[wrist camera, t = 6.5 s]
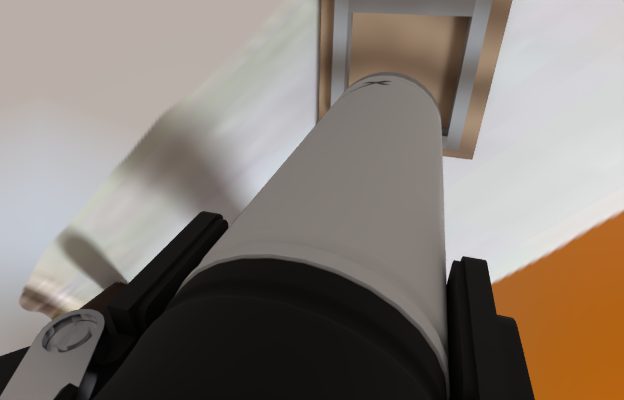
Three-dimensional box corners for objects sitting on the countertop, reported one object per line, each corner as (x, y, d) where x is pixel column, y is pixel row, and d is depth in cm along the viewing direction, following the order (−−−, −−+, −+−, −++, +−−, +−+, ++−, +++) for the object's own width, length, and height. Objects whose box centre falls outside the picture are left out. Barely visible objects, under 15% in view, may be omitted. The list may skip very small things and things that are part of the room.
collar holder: (471, 154, 39) (474, 169, 35) (320, 137, 42) (312, 150, 39) (516, -27, 30) (525, -28, 27) (325, -29, 34) (314, -30, 31)
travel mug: (360, 45, 20) (14, 334, 4) (465, 107, 20) (594, 671, 4) (312, 138, 24) (21, 503, 7) (401, 191, 24) (319, 676, 7)
